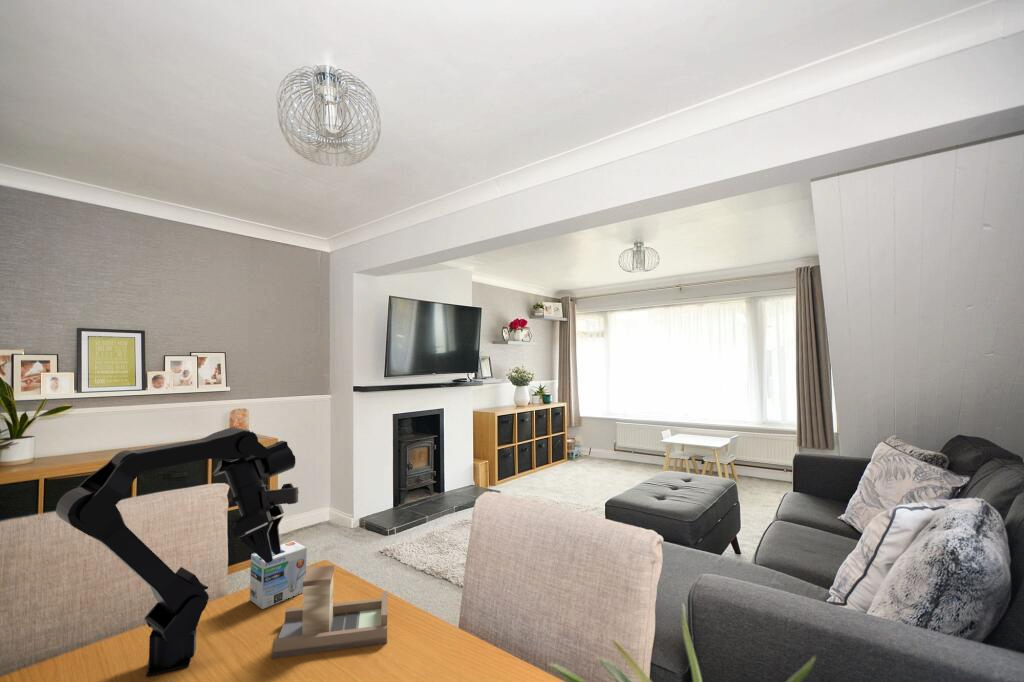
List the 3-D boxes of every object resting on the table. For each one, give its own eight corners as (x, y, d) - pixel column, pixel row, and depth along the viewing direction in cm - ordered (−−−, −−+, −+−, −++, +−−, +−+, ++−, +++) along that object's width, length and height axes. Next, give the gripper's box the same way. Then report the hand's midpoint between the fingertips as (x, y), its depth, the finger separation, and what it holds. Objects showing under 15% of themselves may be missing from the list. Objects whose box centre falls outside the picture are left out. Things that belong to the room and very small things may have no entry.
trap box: (272, 658, 90) (273, 632, 90) (286, 623, 101) (286, 599, 101) (386, 643, 95) (387, 617, 95) (387, 610, 106) (387, 588, 107)
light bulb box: (262, 610, 106) (263, 562, 106) (248, 600, 110) (249, 553, 110) (307, 591, 115) (308, 546, 115) (293, 582, 119) (293, 539, 119)
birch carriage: (301, 637, 94) (302, 581, 94) (306, 620, 100) (308, 567, 100) (329, 634, 95) (330, 578, 95) (333, 617, 101) (334, 565, 101)
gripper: (280, 469, 93) (309, 545, 91) (293, 469, 110) (318, 532, 109) (218, 496, 89) (247, 575, 87) (242, 491, 107) (267, 557, 105)
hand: (274, 557), depth 97 cm, fingers open, 9 cm apart
